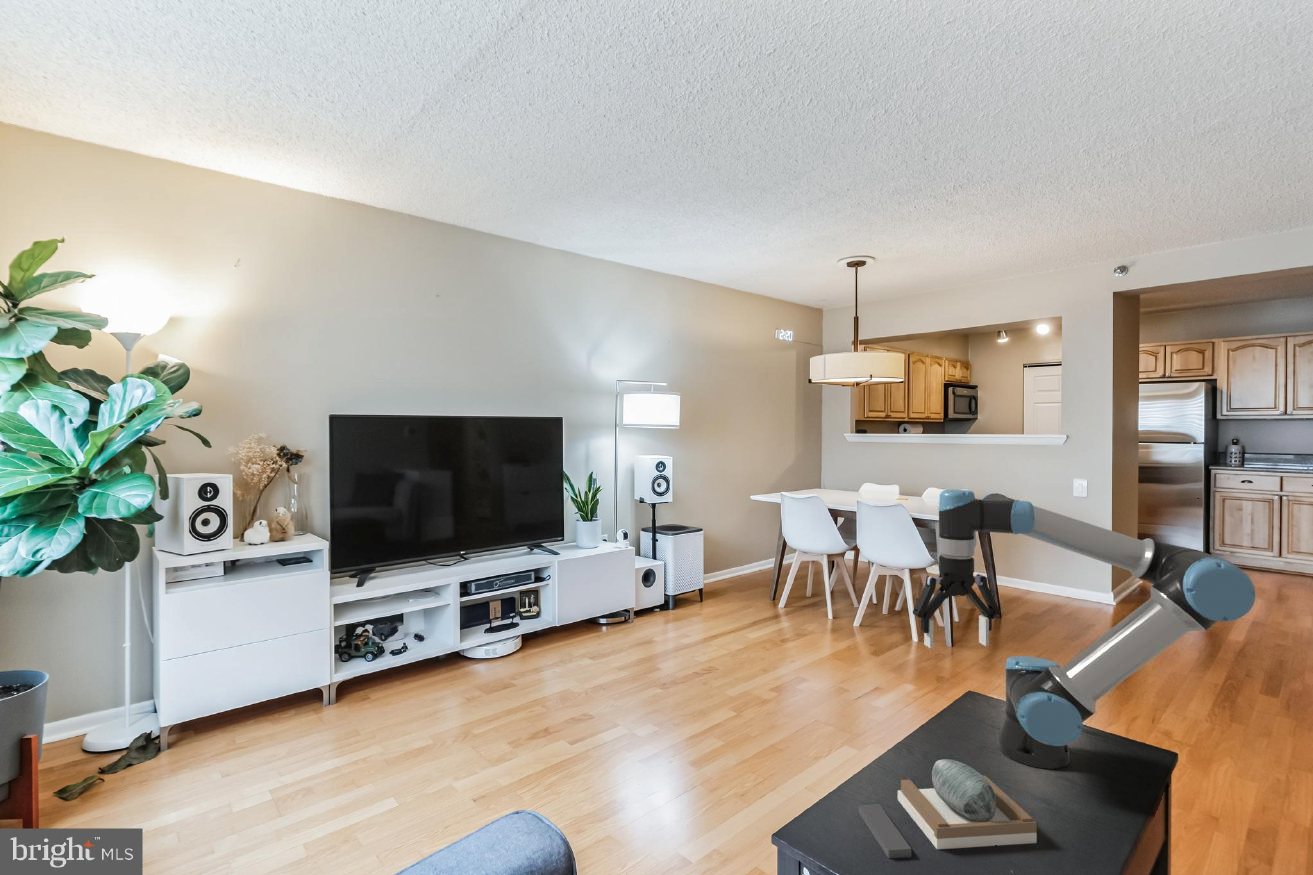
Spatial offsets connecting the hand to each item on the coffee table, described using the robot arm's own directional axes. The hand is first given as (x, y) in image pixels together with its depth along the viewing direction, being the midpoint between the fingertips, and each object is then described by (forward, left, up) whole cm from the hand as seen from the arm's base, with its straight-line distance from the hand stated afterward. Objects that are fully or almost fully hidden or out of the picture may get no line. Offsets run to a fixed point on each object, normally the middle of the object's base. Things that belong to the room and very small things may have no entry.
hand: (956, 645), depth 147 cm
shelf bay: (+10, +20, -29) cm, 36 cm away
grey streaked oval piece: (+10, +19, -27) cm, 34 cm away
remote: (+28, +22, -29) cm, 46 cm away
